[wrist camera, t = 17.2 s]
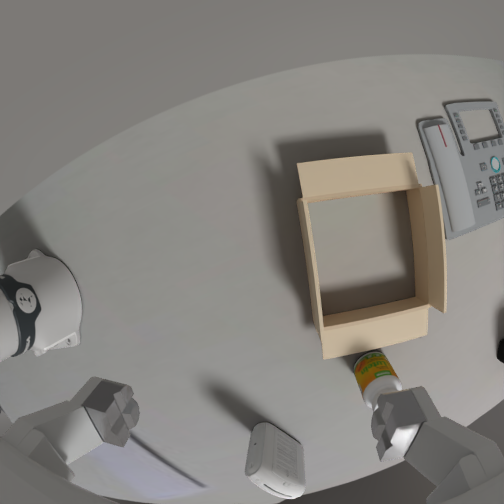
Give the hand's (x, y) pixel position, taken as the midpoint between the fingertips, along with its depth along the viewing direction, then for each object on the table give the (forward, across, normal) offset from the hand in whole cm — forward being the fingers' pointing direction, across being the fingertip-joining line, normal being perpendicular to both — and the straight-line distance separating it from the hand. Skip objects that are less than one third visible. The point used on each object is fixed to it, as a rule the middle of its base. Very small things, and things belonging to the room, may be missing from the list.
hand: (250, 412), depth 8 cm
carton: (+29, -12, +2) cm, 31 cm away
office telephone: (+32, -34, -12) cm, 48 cm away
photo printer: (+25, -1, +33) cm, 42 cm away
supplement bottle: (+27, -14, +19) cm, 36 cm away
